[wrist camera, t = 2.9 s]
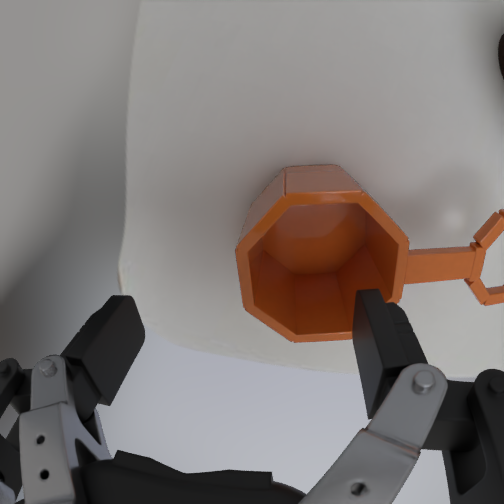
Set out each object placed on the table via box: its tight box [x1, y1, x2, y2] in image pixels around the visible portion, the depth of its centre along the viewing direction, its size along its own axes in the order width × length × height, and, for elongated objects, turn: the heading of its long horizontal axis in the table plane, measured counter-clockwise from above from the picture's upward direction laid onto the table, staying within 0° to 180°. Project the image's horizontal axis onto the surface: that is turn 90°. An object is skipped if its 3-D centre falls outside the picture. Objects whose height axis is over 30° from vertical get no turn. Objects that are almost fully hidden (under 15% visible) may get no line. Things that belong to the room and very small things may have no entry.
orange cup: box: [235, 165, 504, 343], centre depth 14 cm, size 16×7×6 cm, turn 96°
